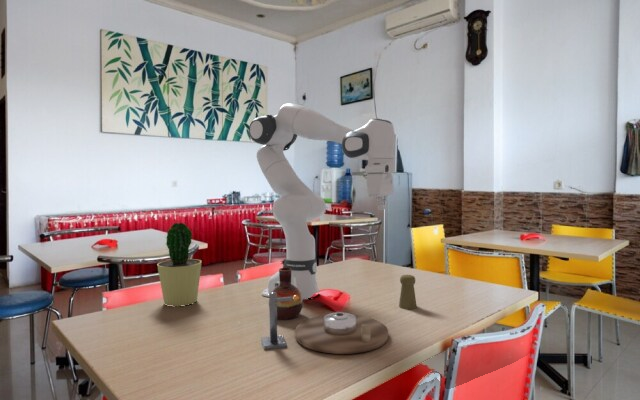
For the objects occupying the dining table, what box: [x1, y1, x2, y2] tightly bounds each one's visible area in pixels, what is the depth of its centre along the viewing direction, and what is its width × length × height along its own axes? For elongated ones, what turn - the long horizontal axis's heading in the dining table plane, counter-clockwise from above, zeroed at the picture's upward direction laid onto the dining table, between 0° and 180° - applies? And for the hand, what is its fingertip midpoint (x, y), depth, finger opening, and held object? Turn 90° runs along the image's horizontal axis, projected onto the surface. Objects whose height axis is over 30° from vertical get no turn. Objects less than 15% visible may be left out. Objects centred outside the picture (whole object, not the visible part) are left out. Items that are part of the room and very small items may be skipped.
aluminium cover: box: [323, 311, 356, 336], centre depth 114 cm, size 9×9×4 cm
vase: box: [272, 267, 304, 320], centre depth 133 cm, size 11×11×15 cm
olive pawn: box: [398, 274, 418, 310], centre depth 141 cm, size 6×6×11 cm
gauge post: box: [260, 292, 299, 351], centre depth 110 cm, size 10×6×14 cm, turn 105°
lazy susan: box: [294, 314, 389, 355], centre depth 115 cm, size 26×26×6 cm
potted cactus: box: [156, 222, 202, 306], centre depth 148 cm, size 15×15×30 cm
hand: (381, 209), depth 135 cm, fingers closed
